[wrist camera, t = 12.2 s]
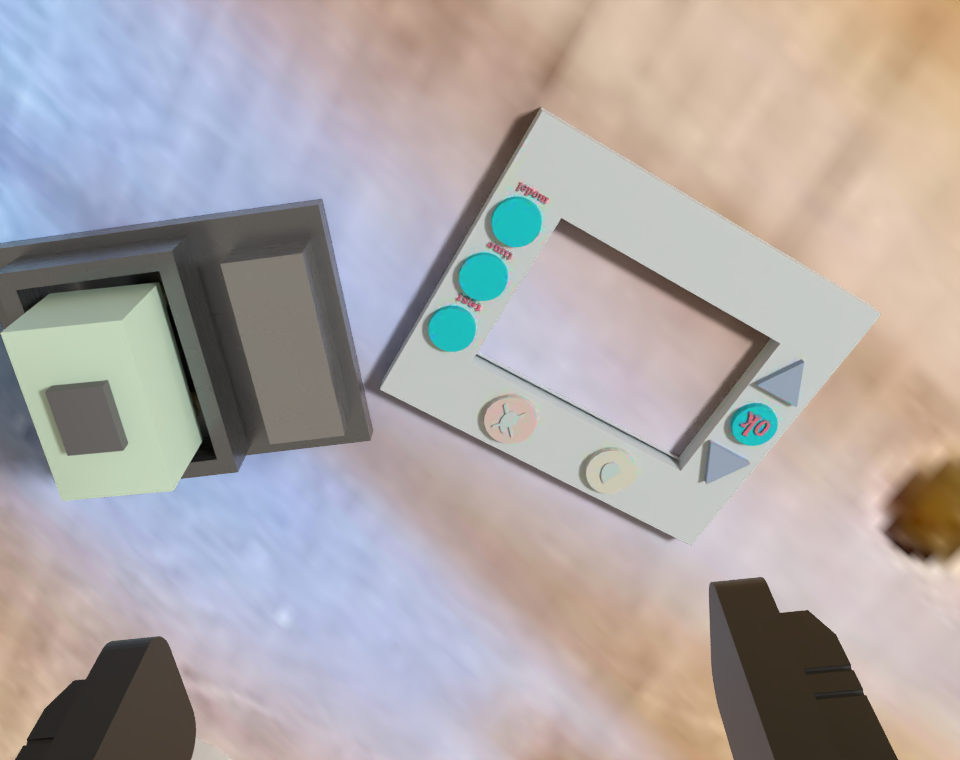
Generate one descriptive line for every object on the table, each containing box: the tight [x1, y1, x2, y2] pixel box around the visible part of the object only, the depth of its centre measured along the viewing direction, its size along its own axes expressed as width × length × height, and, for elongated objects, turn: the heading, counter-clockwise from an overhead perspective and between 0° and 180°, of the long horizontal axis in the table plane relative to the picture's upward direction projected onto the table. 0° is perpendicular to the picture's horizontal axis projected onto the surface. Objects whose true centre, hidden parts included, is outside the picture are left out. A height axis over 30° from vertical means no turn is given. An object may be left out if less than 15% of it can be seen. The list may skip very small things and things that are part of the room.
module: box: [1, 282, 203, 501], centre depth 40 cm, size 8×5×5 cm, turn 6°
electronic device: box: [380, 107, 881, 545], centre depth 43 cm, size 18×2×15 cm
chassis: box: [0, 199, 373, 479], centre depth 42 cm, size 12×16×4 cm
